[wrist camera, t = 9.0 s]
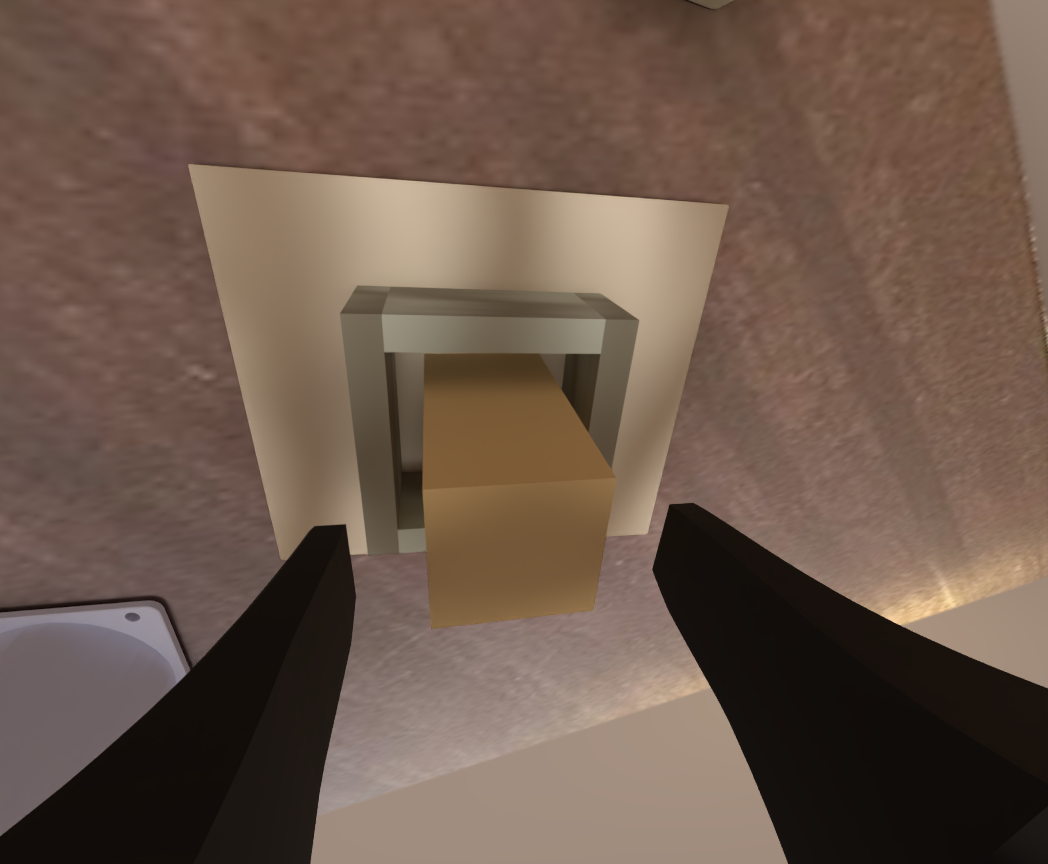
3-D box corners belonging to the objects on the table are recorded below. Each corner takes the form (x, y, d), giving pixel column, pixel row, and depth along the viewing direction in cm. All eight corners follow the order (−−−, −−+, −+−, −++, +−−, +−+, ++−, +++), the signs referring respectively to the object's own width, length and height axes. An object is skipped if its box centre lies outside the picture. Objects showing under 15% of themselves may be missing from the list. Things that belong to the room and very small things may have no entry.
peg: (429, 453, 18) (431, 628, 11) (424, 353, 16) (422, 489, 9) (531, 449, 19) (593, 610, 12) (538, 352, 17) (616, 477, 10)
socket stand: (284, 549, 20) (254, 629, 16) (197, 164, 13) (114, 161, 9) (642, 525, 23) (680, 588, 19) (719, 204, 16) (799, 212, 13)
